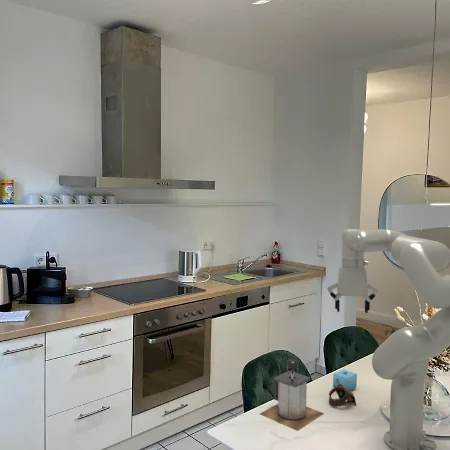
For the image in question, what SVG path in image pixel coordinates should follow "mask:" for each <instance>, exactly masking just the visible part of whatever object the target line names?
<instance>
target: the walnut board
mask: <svg viewBox="0 0 450 450" xmlns="http://www.w3.org/2000/svg"><path fill="white" fill-rule="evenodd" d="M324 414H325V413H324V412H321V411H319V410H316V409H314V408H311V407H309V406H306V417H305V418H304V419H302V420H298V421H290V420H285V419H283V418H281V417H280V416H279V415H278V403H277V404H275V405H273V406H271V407H269V408H268V409H265V410H264V411H262V412H260V413H259V415H260V416H263V417H265V418H268V419H269V420H272V421H274V422H276V423H279V424H280V425H284V426H286V427H288V428H290V429H292V430H295V431H297V432H299V431H300V430H302V429H303V428H305V427H306V426H307V425H310V424H311V423H313V422H314V421H315V420H316V419H318V418H320V417H321V416H323V415H324Z"/></svg>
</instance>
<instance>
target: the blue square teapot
mask: <svg viewBox="0 0 450 450" xmlns="http://www.w3.org/2000/svg"><path fill="white" fill-rule="evenodd" d="M332 376H333V377H332V387H333V388H334V387H337V386H338V385H339V384H341V385H342V386H343V387H345V388H346V389H348V390H349V391H354V389H355V388H357V384H358V383H357V381H358V379H357V378H358V373H355V372H353V371H350V370H348V369H341V370H338V371H336V372H334V373H333V374H332Z"/></svg>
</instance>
